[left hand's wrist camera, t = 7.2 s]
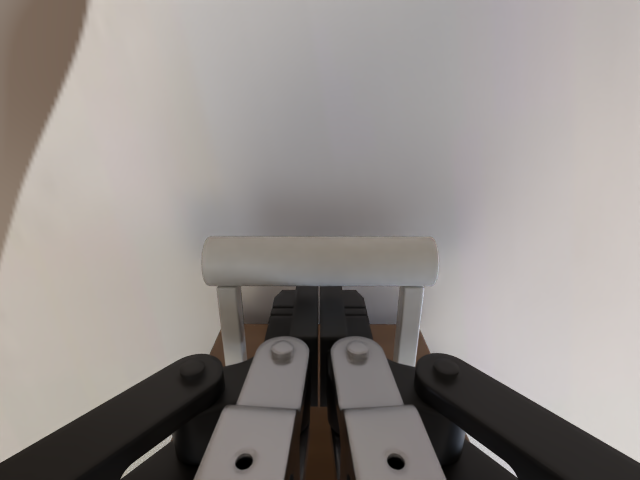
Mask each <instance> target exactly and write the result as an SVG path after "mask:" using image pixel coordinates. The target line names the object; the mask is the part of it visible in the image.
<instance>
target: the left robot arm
mask: <svg viewBox="0 0 640 480" xmlns="http://www.w3.org/2000/svg"><path fill="white" fill-rule="evenodd" d="M310 407H318V286H296V290H282V291H281V292H280V293H279V294H278V295H277V296H276V297H275V298H274V302H273V306H272V310H271V316H270V319H269V323H268V327H267V331H266V335H265V340H264V343H262V344H261V345H260V346H259V347H258V349H257V351H256V353H255V356H253V357H252V358H250V359H248V360H246V361H243V362H240V363H237V364H233V365H228V366H224V367H223V365H222V362H221V361H220V360H219V359H218V358H217V357H215V356H212V355H208V354H195V355H190V356H187V357H184V358H182V359H180V360H178V361H176V362H174V363H172V364H171V365H169V366H167V367H165V368H164V369H162V370H160V371H159V372H157V373H155V374H153V375H152V376H150V377H148V378H146V379H145V380H143V381H141V382H140V383H138V384H136V385H134V386H133V387H131V388H129V389H127V390H126V391H124V392H122V393H121V394H119V395H117V396H115V397H114V398H112V399H110V400H108V401H107V402H105V403H103V404H102V405H100V406H98V407H96V408H95V409H93V410H91V411H89V412H88V413H86V414H84V415H83V416H81V417H79V418H77V419H76V420H74V421H72V422H70V423H69V424H67V425H65V426H64V427H62V428H60V429H58V430H57V431H55V432H53V433H51V434H50V435H48V436H46V437H45V438H43V439H41V440H39V441H38V442H36V443H34V444H32V445H31V446H29V447H27V448H25V449H24V450H22V451H20V452H19V453H17V454H15V455H13V456H12V457H10V458H8V459H6V460H5V461H3V462H1V463H0V480H305V473H306V465H307V456H308V448H309V439H310ZM320 407H327V417H328V422H329V425H330V439H331V448H332V456H333V465H334V473H335V480H640V463H639V462H637V461H635V460H634V459H632V458H630V457H628V456H627V455H625V454H623V453H621V452H620V451H618V450H616V449H614V448H613V447H611V446H609V445H608V444H606V443H604V442H602V441H601V440H599V439H597V438H595V437H594V436H592V435H590V434H589V433H587V432H585V431H583V430H582V429H580V428H578V427H576V426H575V425H573V424H571V423H570V422H568V421H566V420H564V419H563V418H561V417H559V416H557V415H556V414H554V413H552V412H551V411H549V410H547V409H545V408H544V407H542V406H540V405H538V404H537V403H535V402H533V401H532V400H530V399H528V398H526V397H525V396H523V395H521V394H519V393H518V392H516V391H514V390H513V389H511V388H509V387H507V386H506V385H504V384H502V383H500V382H499V381H497V380H495V379H494V378H492V377H490V376H488V375H487V374H485V373H483V372H481V371H480V370H478V369H476V368H474V367H473V366H471V365H469V364H468V363H466V362H464V361H462V360H461V359H459V358H457V357H454V356H451V355H448V354H442V353H432V354H427V355H424V356H422V357H421V358H420V359H419V360H418V361H417V363H416V367H413V366H409V365H404V364H400V363H397V362H394V361H391V360H389V359H387V358H386V356H385V353H384V351H383V349H382V347H381V346H380V345H379V344H378V343H376V342H375V341H373V337H372V332H371V328H370V323H369V319H368V316H367V310H366V306H365V302H364V298H363V297H362V296H361V295H360V294H359V293H358V292H357V291H356V290H342V286H320ZM465 433H467V434H469V435H470V436H472V437H473V438H474V439H476V440H477V441H478V442H480V443H481V444H482V445H484V446H485V447H486V448H488V449H489V450H491V451H492V452H493V453H495V454H496V455H497V456H499V457H500V458H501V459H503V460H504V461H505V462H507V463H508V464H509V465H510V467H511V468H512V469H513V470H514V472H515V473H516V475H517V477H518V478H517V477H516V476H514V475H513V474H512V473H510V472H509V471H508V470H506V469H505V468H504V467H502V466H501V465H500V464H498V463H497V462H496V461H494V460H493V459H492V458H490V457H489V456H488V455H486V454H485V453H484V452H482V451H481V450H480V449H478V448H477V447H476V446H474V445H473V444H472V443H470V442H469V441H468V440H466V439H465ZM171 434H172V437H173V440H172V441H171V442H170V443H168V444H167V445H166V446H164V447H163V448H162V449H160V450H159V451H158V452H156V453H155V454H154V455H152V456H151V457H150V458H148V459H147V460H146V461H144V462H143V463H142V464H140V465H139V466H138V467H136V468H135V469H134V470H132V471H131V472H130V473H128V474H127V475H126V476H124V477H123V478H122V479H121V476H122V475H123V473H124V472H125V470H126V469H127V468H128V467H129V466H130V465H131V464H132V463H133V462H135V461H136V460H137V459H139V458H140V457H141V456H143V455H144V454H145V453H147V452H148V451H149V450H151V449H152V448H154V447H155V446H156V445H158V444H159V443H160V442H162V441H163V440H164V439H166V438H167V437H168V436H170V435H171Z"/></svg>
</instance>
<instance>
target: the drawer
mask: <svg viewBox="0 0 640 480" xmlns="http://www.w3.org/2000/svg"><path fill="white" fill-rule="evenodd" d="M201 265H202V274H203V278H204V281H205V283H206V284H207V285H209V286H218V287H217V297H218V305H219V314H220V323H221V330H220V332H219V334H218V337H217V339H216V341H215V343H214V346H213V348H212V350H211V352H210V355H212V356H215V357H217V358H218V359H219V360H220V361H221V362H222V365H223V367H224V366H228V365H233V364H237V363H240V362H243V361H246V360H248V359H250V358H252V357H253V356H255V353H256V351H257V349H258V347H259V346H260V345H261V344H262V343H264V340H265V335H266V331H267V327H268V324H244V318H243V307H242V296H241V286H400V290H399V301H398V312H397V323H396V324H370V328H371V332H372V337H373V341H375V342H376V343H378V344H379V345H380V346H381V347H382V349H383V351H384V353H385V356H386V358H387V359H389V360H391V361H394V362H397V363H400V364H404V365H409V366H413V367H416V363H417V361H418V360H419V359H420V358H421V357H422V356H424V355H427V354H431V353H430V351H429V349H428V347H427V344H426V342H425V340H424V338H423V335H422V333H421V331H420V329H419V328H420V320H421V311H422V303H423V294H424V287H423V286H433V285H434V284H435V283H436V280H437V277H438V272H439V253H438V248H437V244H436V242H435V240H434V239H433V238H432V237H220V236H211V237H208V238H207V239H206V241H205V243H204V246H203V251H202V260H201ZM465 439H466V440H468V441H469V439H468V437H467V435H466V433H465ZM172 440H173V437H172V439H171V441H172ZM469 442H470V441H469ZM305 480H335V473H334V465H333V456H332V448H331V439H330V425H329V422H328V417H327V407H320V324H318V407H310V439H309V448H308V456H307V465H306V473H305Z"/></svg>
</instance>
